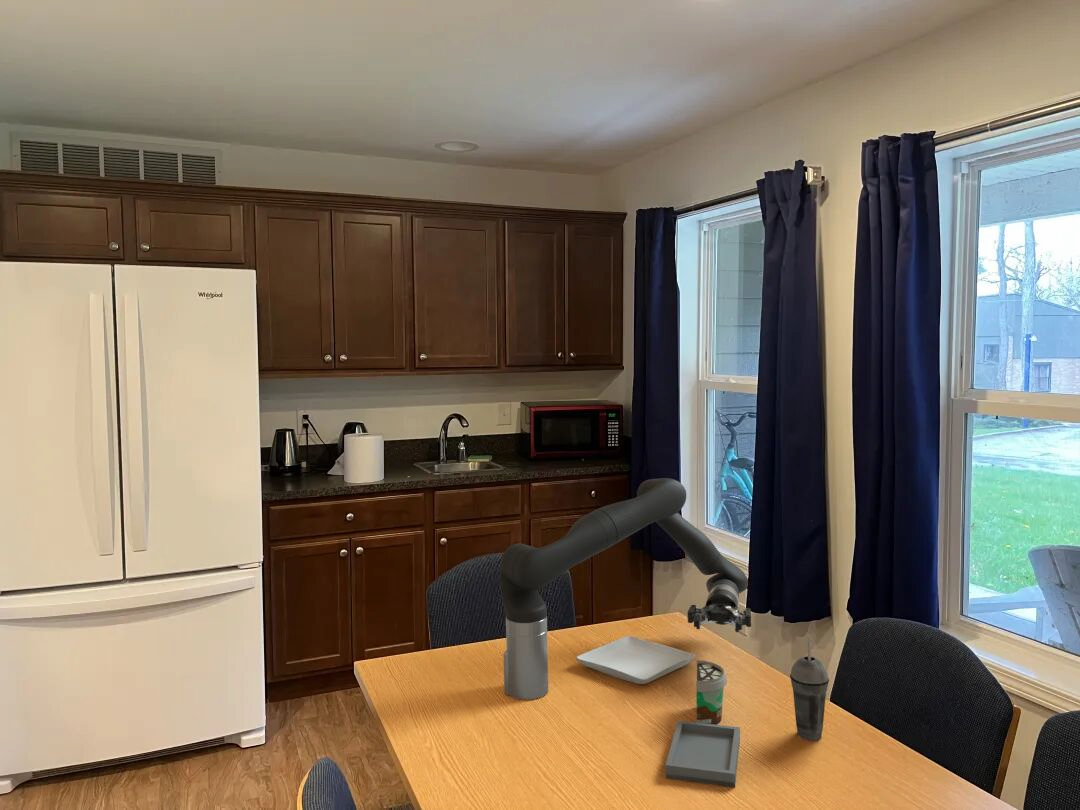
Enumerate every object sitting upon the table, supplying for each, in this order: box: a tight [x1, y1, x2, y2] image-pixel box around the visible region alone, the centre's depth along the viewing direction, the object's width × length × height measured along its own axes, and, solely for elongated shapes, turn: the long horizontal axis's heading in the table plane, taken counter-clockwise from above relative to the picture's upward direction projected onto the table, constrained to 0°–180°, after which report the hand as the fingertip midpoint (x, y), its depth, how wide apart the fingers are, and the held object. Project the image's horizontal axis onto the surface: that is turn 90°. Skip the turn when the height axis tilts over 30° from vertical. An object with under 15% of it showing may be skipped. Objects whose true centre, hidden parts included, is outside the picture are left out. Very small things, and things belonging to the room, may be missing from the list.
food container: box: [695, 659, 728, 725], centre depth 164 cm, size 12×6×10 cm, turn 168°
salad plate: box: [576, 635, 696, 685], centre depth 192 cm, size 21×21×3 cm
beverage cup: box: [789, 636, 830, 742], centre depth 155 cm, size 7×7×20 cm
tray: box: [665, 720, 741, 788], centre depth 148 cm, size 12×18×2 cm, turn 163°
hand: (717, 626), depth 177 cm, fingers open, 8 cm apart
